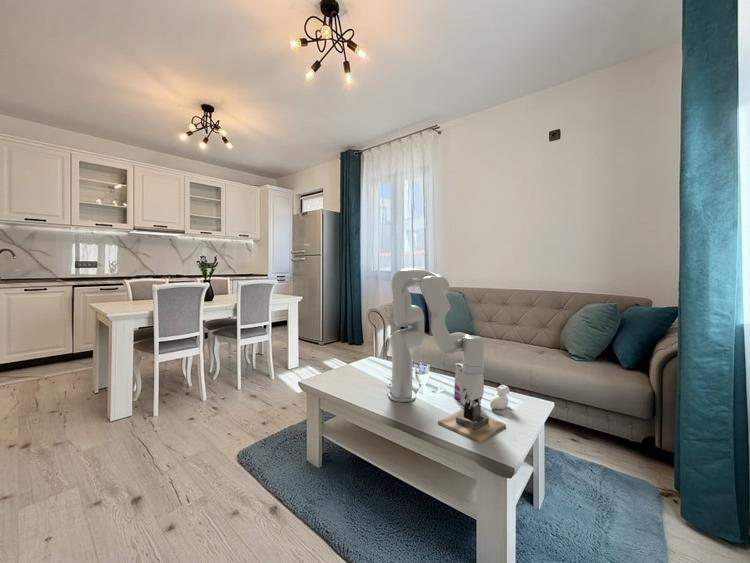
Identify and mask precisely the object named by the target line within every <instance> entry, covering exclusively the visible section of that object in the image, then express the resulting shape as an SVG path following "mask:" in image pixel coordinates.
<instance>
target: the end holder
mask: <svg viewBox="0 0 750 563" xmlns="http://www.w3.org/2000/svg"><path fill="white" fill-rule="evenodd" d="M437 424H438V425H440V426H443V427H444V428H447V429H449V430H451V431H454V432H456V433H458V434H460V435H461V436H464V437H467V438H469V439H471V440H473V441H476V442H478V443H479V444H482V443H483V442H484V441H486V440H487V439H489V438H491V437H492V436H493V435H495V434H497V433H498V432H500V431H502V430H503V429H504V428H506V427H507V426H506V425H507V424H506V423H503V422H501V421H499V420H496V419H493V418H490V417H488V416H485V415H483V414H481V419H479V420H477V421H475V422H473V421H471V420H468V419H466V418H464V408H462V409H460V410H458V411H455V412H454V413H451V414H450V415H447V416H446V417H443V418H441V419H438V421H437Z"/></svg>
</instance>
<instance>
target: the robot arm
mask: <svg viewBox="0 0 750 563" xmlns="http://www.w3.org/2000/svg"><path fill="white" fill-rule="evenodd" d="M410 288H419V289H420V291H421V294H422V296H423V298H424V301H425V302H426V305H427V306H428V309H429V312H430V314H431V318H430V332H431V335H432V337H433V340H434V342H435V344H436V346H437V347H438V349H439V350H440V351H441V352H442V353H443V354H446V355H451V354H452V355H453V354H455V353H460V352H461V353H462V363H463V373H462V375H461V381H460V394H459V395H460V398H461V400H460V401H459V403H461V404H462V406H463V409H464V417H465V418H468V419H470V420H471V419H472V409H471V407H472V401H475V402H478V405H481V403H482V402H481V401H482V398H483V396H484V394H485V393H484V391H485V390H484V389H485V388H484V386H485V382H484V381H485V380H484V354H485V352H484V349H485V346H484V345H485V343H484V342H485V340H484V339H483V337H481V336H479V335H472V334H471V335H470V334H468V333H464V332H460V331H458V332H453V333H450V332H449V330H448V327H447V324H446V316H447V314H448V312H449V311H450V310H451V307H452V306H451V304H450V302H449V299H448V297H447V296H446V294H447V293H448V292H449V290H450V283H449V281H448V279H447V278H446V277H444V276H442V275H440V274H437V273H435V272H432V271H429V270H426V269H421V268H420V269H419V268H403V269H400V270H398V271H396V272H395V273H394V275H393V276H392V278H391V290H392V309H393V310H392V314H393V317H392V318H393V322H394V324H395V326H397V327H407V328H402V329H398V330H395V331H394V332H393V333H392V334H391V335H390V347H391V358H392V359H391V363H392V364H391V365H392V366H391V368H392V369H391V370H392V371H391V382H389V383H388V385H387V387H386V388H387V389H389V392H388V398H389V399H390V400H392V401H394V402H397V403H399V402H400V403H407V402H408V403H409V402H412V401H414V400H415V399H416V394H415V393H414V392H413V375H414V373H413V370H414V369H413V366H414V365H413V364H414V362H413V356H412V353H411V350H412V349H416V348H419V347H421V346H422V345H423V344H424V342H425V315H424V312H423V309H422V307H420V306H418V305H414V304H412V296H411V292H410V291H409V289H410ZM467 398H468V399H467ZM467 401H469V404H468V403H467Z"/></svg>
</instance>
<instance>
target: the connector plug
mask: <svg viewBox="0 0 750 563" xmlns="http://www.w3.org/2000/svg"><path fill="white" fill-rule="evenodd" d="M467 403H468V404H469V401H468V402H467ZM471 409H472V419H471V421H473V422H475V421H477V420H479V419H481V415H482V414H481V412H482V405H481V404H480V405H478V402H475V401H472V407H471ZM464 418H465V417H464ZM466 419H468V418H466ZM468 420H470V419H468Z"/></svg>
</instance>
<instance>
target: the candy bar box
mask: <svg viewBox="0 0 750 563" xmlns="http://www.w3.org/2000/svg"><path fill="white" fill-rule="evenodd" d="M462 373H463V362H457V363H454V392H453V393H454V394H453V395H454V396H453V398H454V399H455V400H457V401H459V402H460V400H461V398H460V395H459V394H460V381H461V375H462ZM467 399H468V398H467ZM467 402H468V401H467Z"/></svg>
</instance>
